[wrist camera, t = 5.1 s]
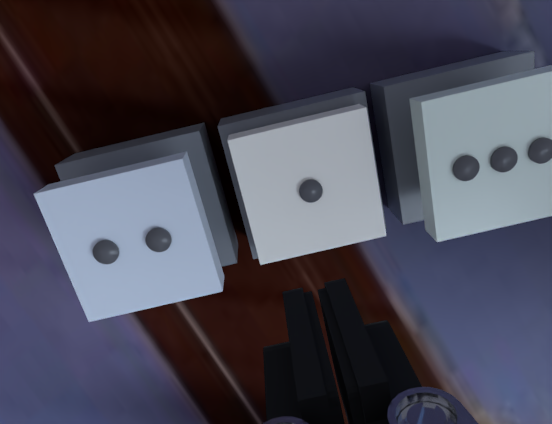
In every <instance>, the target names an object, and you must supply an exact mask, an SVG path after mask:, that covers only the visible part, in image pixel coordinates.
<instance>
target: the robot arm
mask: <svg viewBox="0 0 552 424" xmlns="http://www.w3.org/2000/svg"><path fill="white" fill-rule="evenodd" d="M324 284H325V288H324V289H319V290H318V294H319V298H320V303H321V308H322V312H323V317H324V322H325V326H326V331H327V336H328V341H329V345H330V350H331V355H332V359H333V364H334V369H335V373H336V378H337V382H338V386H339V389H340V393H341V397H342V401H343V404H344V408H345V412H346V416H347V419H348V423H349V424H478V423H477V422H476V421H475V419H474V418H473V417H472V416H471V415H470V413H469V412H468V411H467V410H466V409H465V407H464V406H463V405H462V404H461V403H460V402H459V401H458V400H457V399H456V398H455V397H454V396H452V395H451V394H449V393H447V392H445V391H443V390H440V389H436V388H432V387H422V386H421V384H420V382H419V380H418V378H417V376H416V374H415V373H414V371H413V369H412V367H411V365H410V363H409V361H408V359H407V357H406V355H405V353H404V351H403V349H402V347H401V345H400V343H399V341H398V339H397V338H396V336H395V334H394V332H393V330H392V328H391V326H390V324H389V322H388V321H387V320H385V321H380V322H376V323H371V324H367V325H364V323H363V321H362V318H361V316H360V314H359V311H358V309H357V306H356V304H355V302H354V299H353V297H352V295H351V292H350V290H349V287H348V285H347V283H346V280H345V278H344V279H339V280H335V281H330V282H326V283H324ZM283 299H284V306H285V313H286V320H287V328H288V335H289V342H285V343H280V344H276V345H271V346H267V347H264V348H263V353H264V374H265V395H266V416H267V421H266V422H264V423H262V424H345V423H344V419H343V414H342V409H341V405H340V400H339V396H338V392H337V388H336V384H335V380H334V376H333V372H332V368H331V364H330V360H329V357H328V353H327V349H326V345H325V341H324V337H323V333H322V330H321V326H320V322H319V318H318V314H317V310H316V307H315V303H314V299H313V295H312V291H310V292H306V293H303V288H298V289H294V290H289V291H285V292H283Z"/></svg>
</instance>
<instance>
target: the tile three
mask: <svg viewBox="0 0 552 424" xmlns="http://www.w3.org/2000/svg"><path fill="white" fill-rule="evenodd" d="M409 100H410V108H411V117H412V125H413V133H414V141H415V149H416V157H417V165H418V173H419V182H420V190H421V198H422V206H423V214H424V222H425V230H426V231H427V232H428V233H429V234H430V235H431V236H432V237H433V239H434V240H435V241H436V242H441V241H445V240H449V239H454V238H458V237H462V236H467V235H471V234H476V233H480V232H484V231H489V230H493V229H497V228H502V227H506V226H510V225H515V224H519V223H524V222H528V221H532V220H537V219H541V218H545V217H550V216H552V65H549V66H545V67H540V68H536V69H532V70H528V71H524V72H519V73H515V74H511V75H507V76H503V77H498V78H494V79H490V80H486V81H481V82H477V83H473V84H469V85H465V86H460V87H456V88H452V89H448V90H444V91H439V92H435V93H431V94H427V95H422V96H418V97H414V98H410V99H409Z"/></svg>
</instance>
